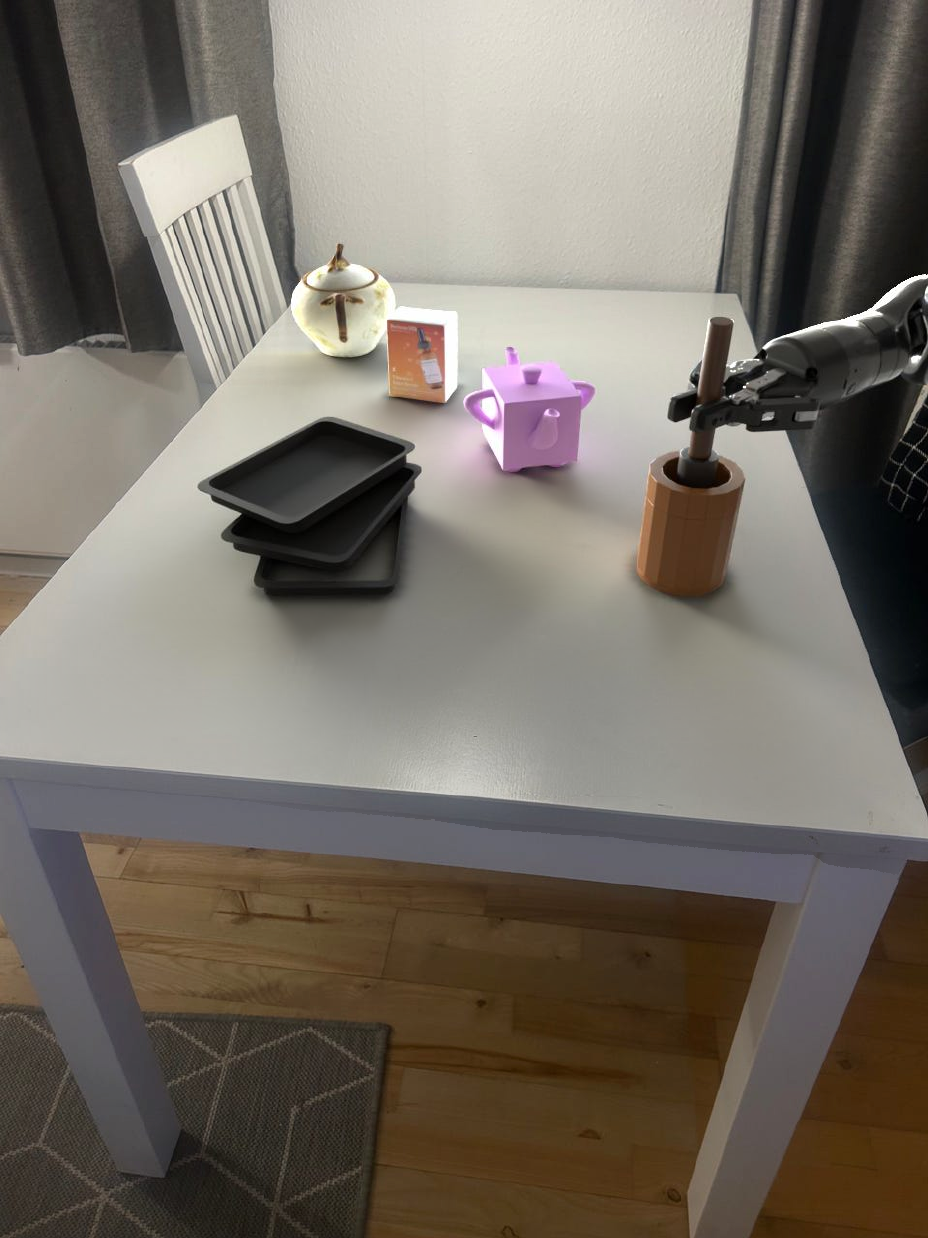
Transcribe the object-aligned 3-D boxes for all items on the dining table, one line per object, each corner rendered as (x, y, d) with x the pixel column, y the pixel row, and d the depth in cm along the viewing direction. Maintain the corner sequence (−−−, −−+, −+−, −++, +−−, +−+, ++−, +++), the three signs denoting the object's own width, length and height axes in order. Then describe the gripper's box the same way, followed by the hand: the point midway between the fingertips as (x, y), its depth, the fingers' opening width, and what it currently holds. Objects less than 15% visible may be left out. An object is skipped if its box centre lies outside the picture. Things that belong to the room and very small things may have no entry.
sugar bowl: (399, 371, 129) (393, 261, 120) (292, 375, 128) (278, 265, 119) (395, 322, 144) (390, 221, 135) (300, 325, 143) (288, 224, 134)
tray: (449, 595, 86) (448, 549, 83) (197, 622, 83) (186, 575, 80) (410, 450, 110) (408, 410, 106) (212, 467, 107) (204, 426, 103)
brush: (698, 500, 86) (730, 311, 75) (715, 519, 84) (750, 325, 73) (665, 505, 86) (692, 315, 75) (681, 524, 83) (711, 330, 72)
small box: (388, 397, 122) (384, 319, 115) (403, 381, 126) (399, 304, 119) (446, 404, 120) (444, 325, 113) (458, 387, 124) (457, 310, 118)
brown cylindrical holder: (700, 543, 93) (717, 445, 86) (740, 590, 86) (762, 487, 80) (623, 555, 91) (635, 456, 85) (657, 603, 85) (673, 500, 78)
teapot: (442, 459, 108) (440, 370, 101) (506, 419, 116) (509, 335, 110) (551, 498, 100) (557, 405, 94) (611, 452, 109) (621, 364, 102)
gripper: (766, 307, 87) (630, 347, 79) (892, 352, 78) (753, 402, 70) (751, 382, 92) (622, 427, 84) (869, 432, 82) (736, 488, 75)
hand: (682, 415), depth 77 cm, fingers closed on brush, 2 cm apart
